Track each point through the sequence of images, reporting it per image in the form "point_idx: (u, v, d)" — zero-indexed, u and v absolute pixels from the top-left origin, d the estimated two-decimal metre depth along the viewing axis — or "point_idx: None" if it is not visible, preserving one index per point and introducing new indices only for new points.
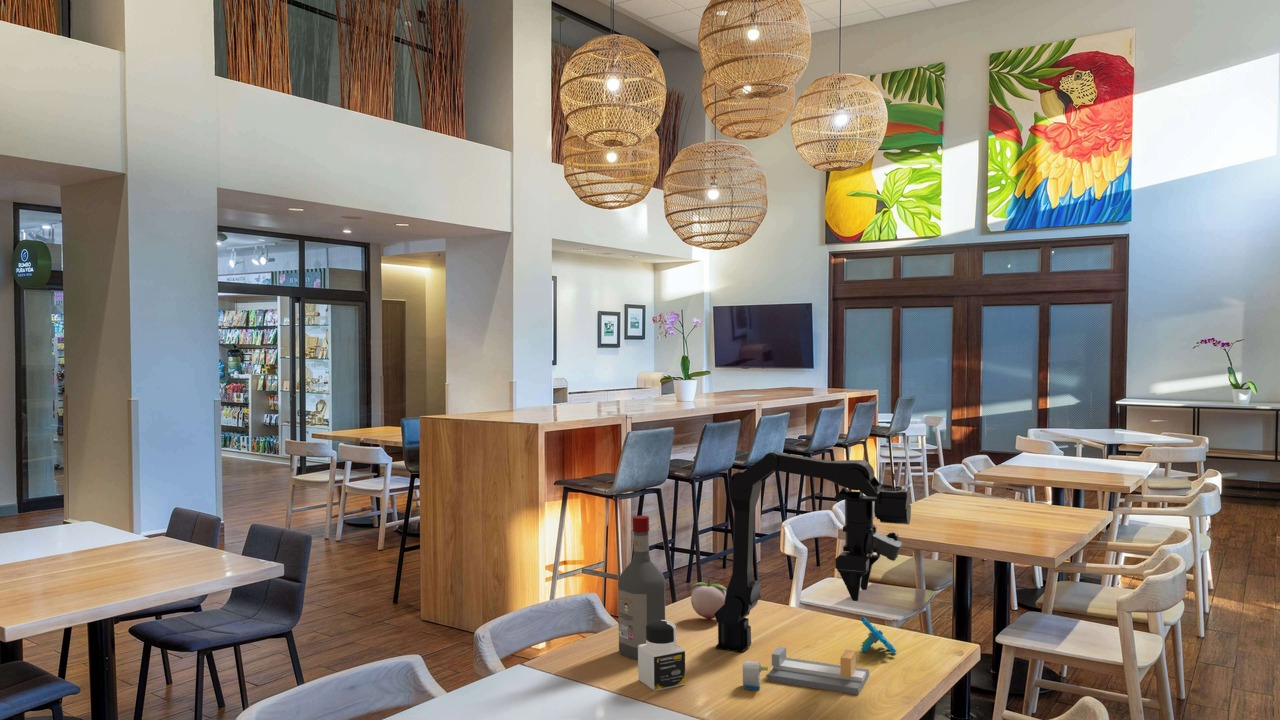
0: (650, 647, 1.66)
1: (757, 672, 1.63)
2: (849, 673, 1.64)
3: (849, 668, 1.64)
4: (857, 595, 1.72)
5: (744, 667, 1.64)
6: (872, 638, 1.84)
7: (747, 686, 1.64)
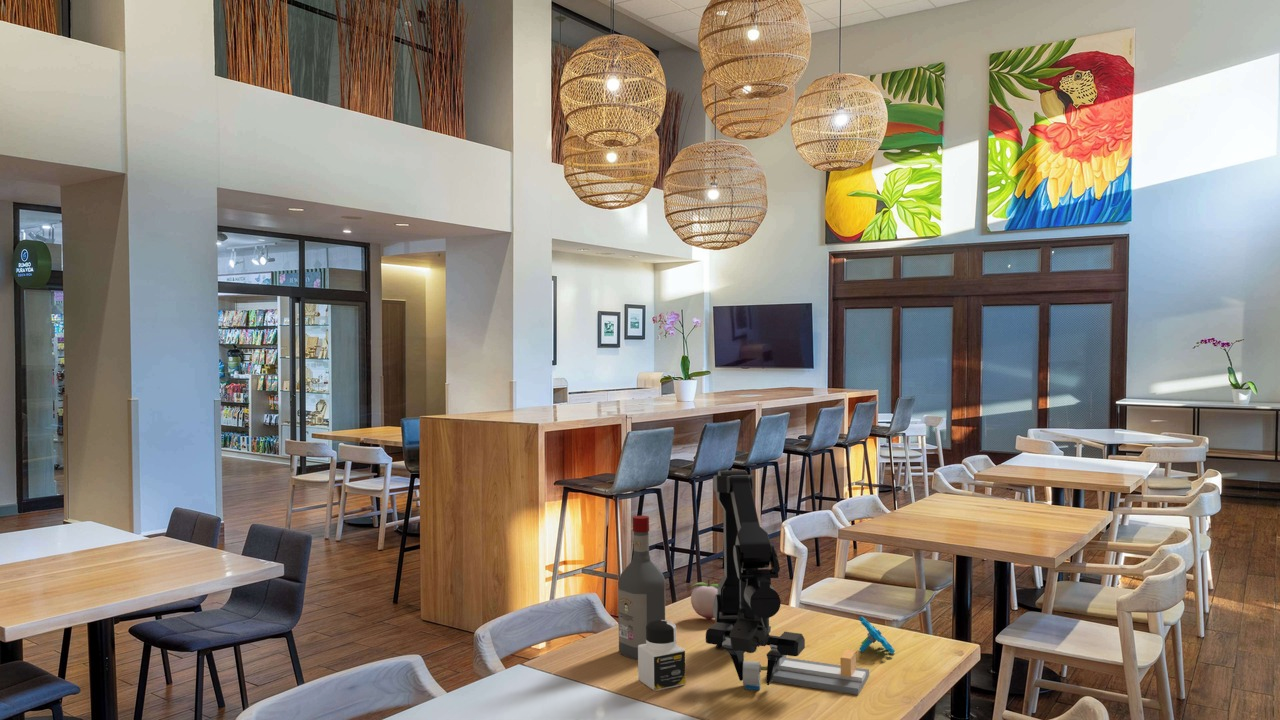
0: (650, 647, 1.66)
1: (757, 672, 1.63)
2: (849, 673, 1.64)
3: (849, 668, 1.64)
4: None
5: (744, 667, 1.64)
6: (870, 638, 1.84)
7: (747, 686, 1.64)
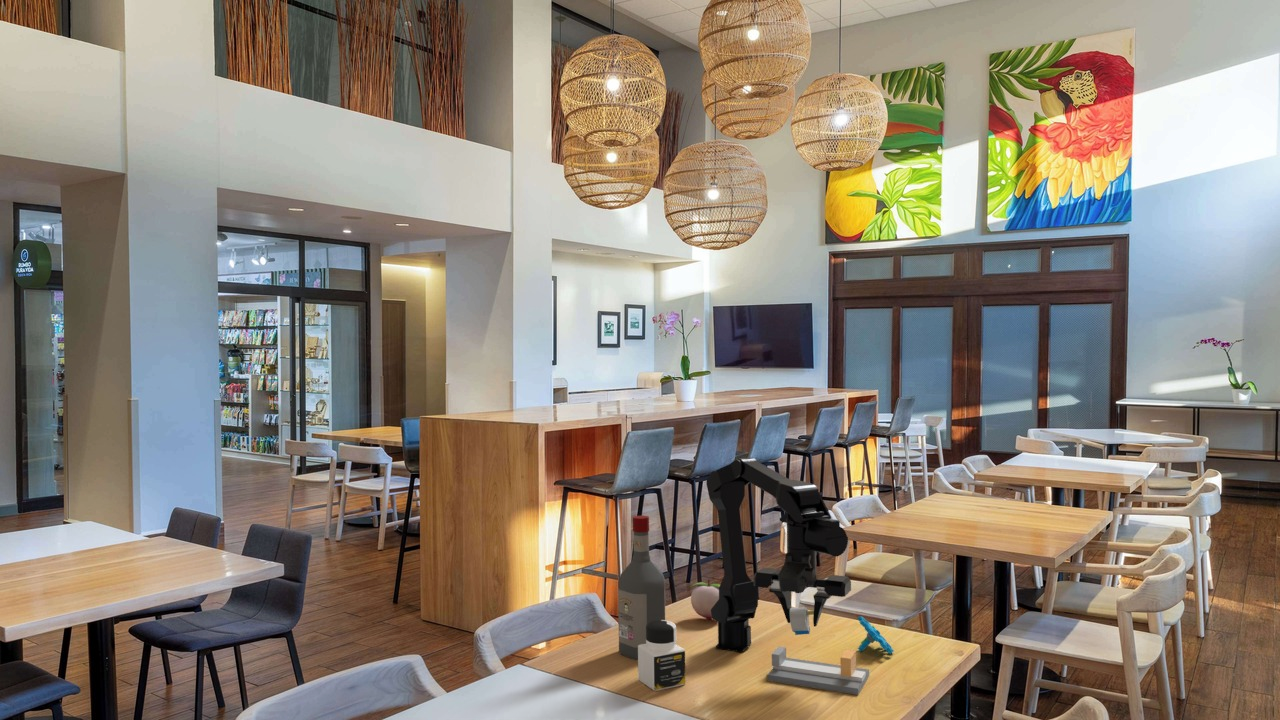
0: (650, 647, 1.66)
1: (804, 616, 1.67)
2: (849, 673, 1.64)
3: (849, 668, 1.64)
4: None
5: (791, 613, 1.68)
6: (869, 638, 1.84)
7: (796, 631, 1.68)
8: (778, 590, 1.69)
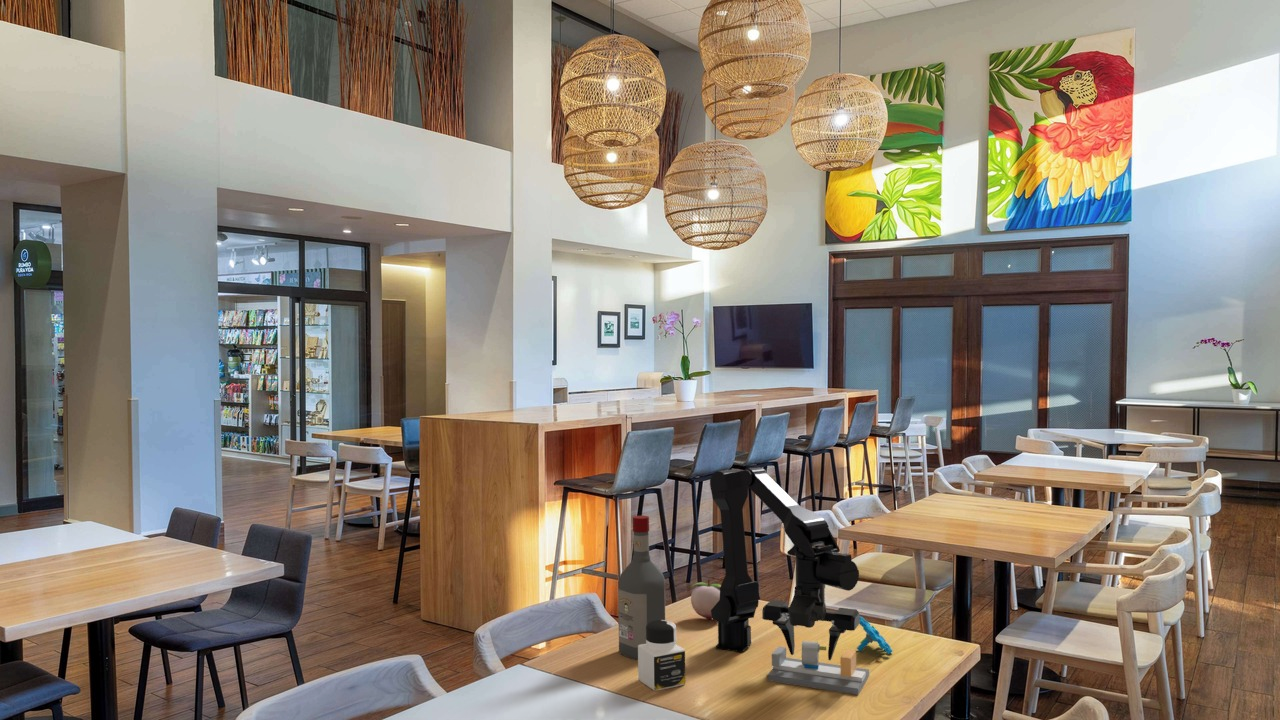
0: (650, 647, 1.66)
1: (816, 651, 1.68)
2: (849, 673, 1.64)
3: (849, 668, 1.64)
4: None
5: (803, 646, 1.69)
6: (868, 637, 1.84)
7: (806, 665, 1.69)
8: (781, 623, 1.70)
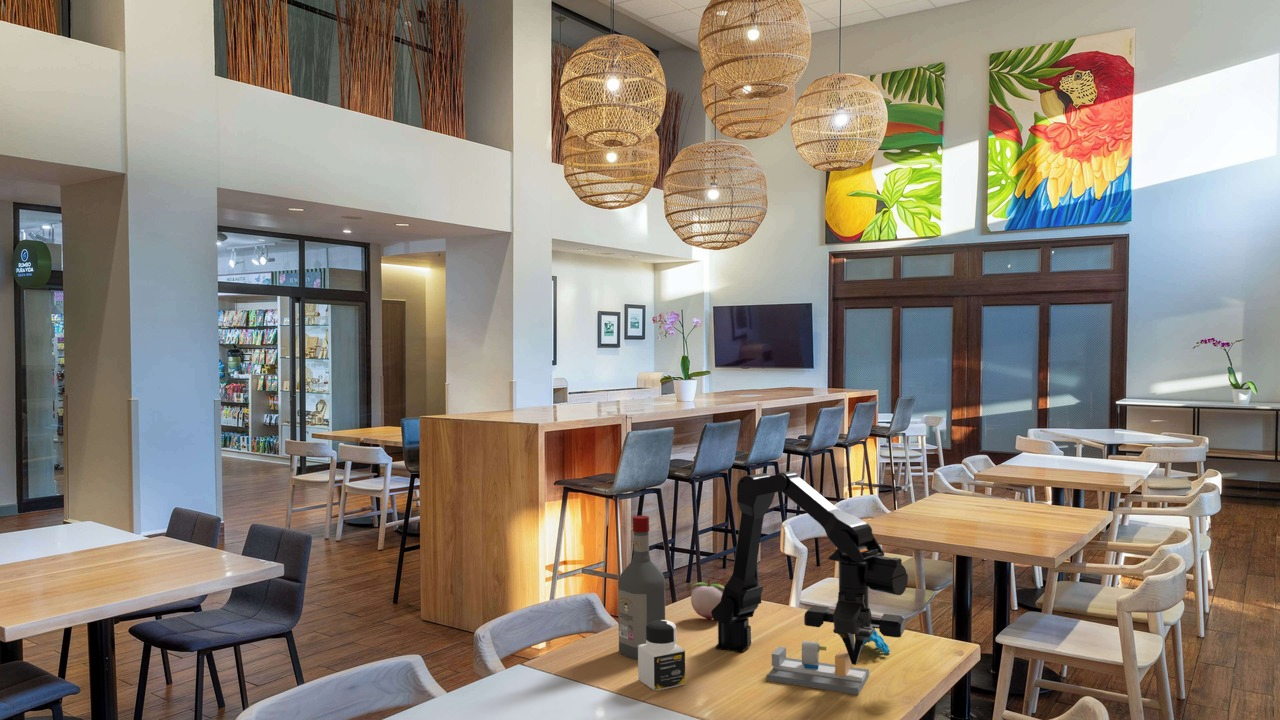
0: (650, 647, 1.66)
1: (816, 651, 1.68)
2: (843, 672, 1.65)
3: (843, 667, 1.65)
4: (850, 657, 1.66)
5: (803, 646, 1.69)
6: None
7: (806, 665, 1.69)
8: (843, 631, 1.65)
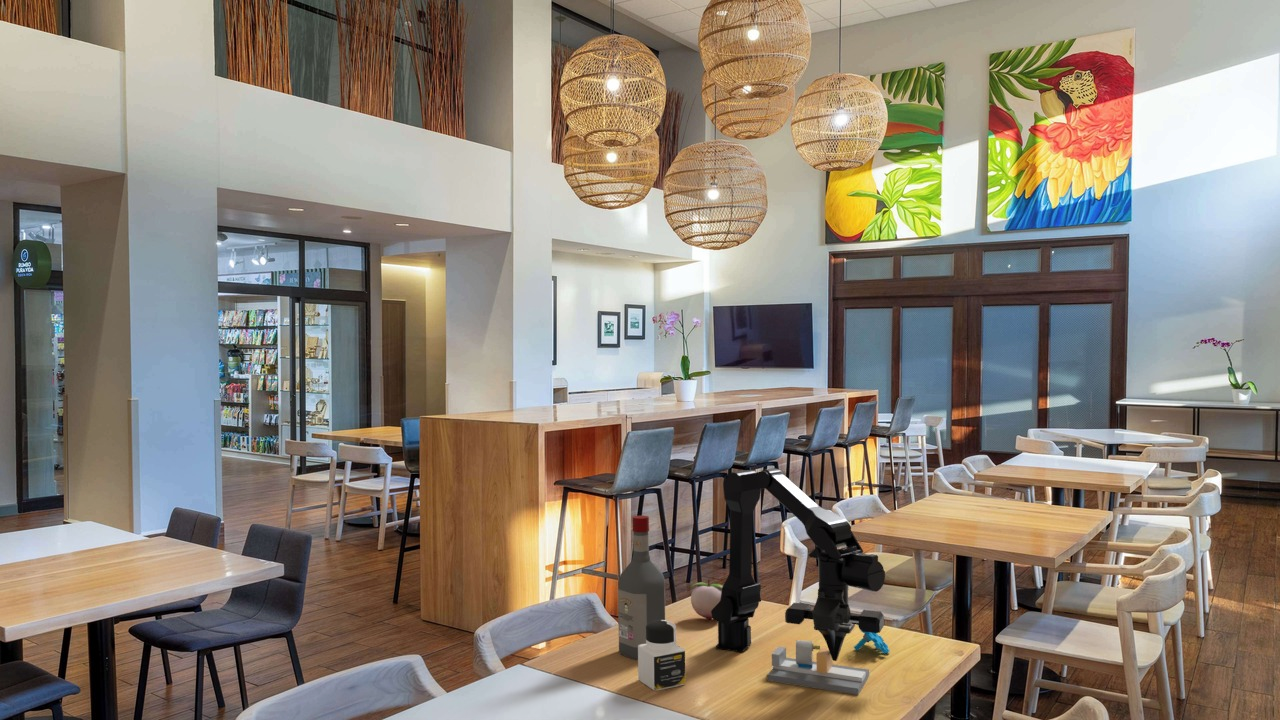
0: (650, 647, 1.66)
1: (810, 650, 1.68)
2: (825, 669, 1.66)
3: (825, 664, 1.66)
4: None
5: (797, 646, 1.69)
6: (865, 637, 1.84)
7: (800, 664, 1.69)
8: None
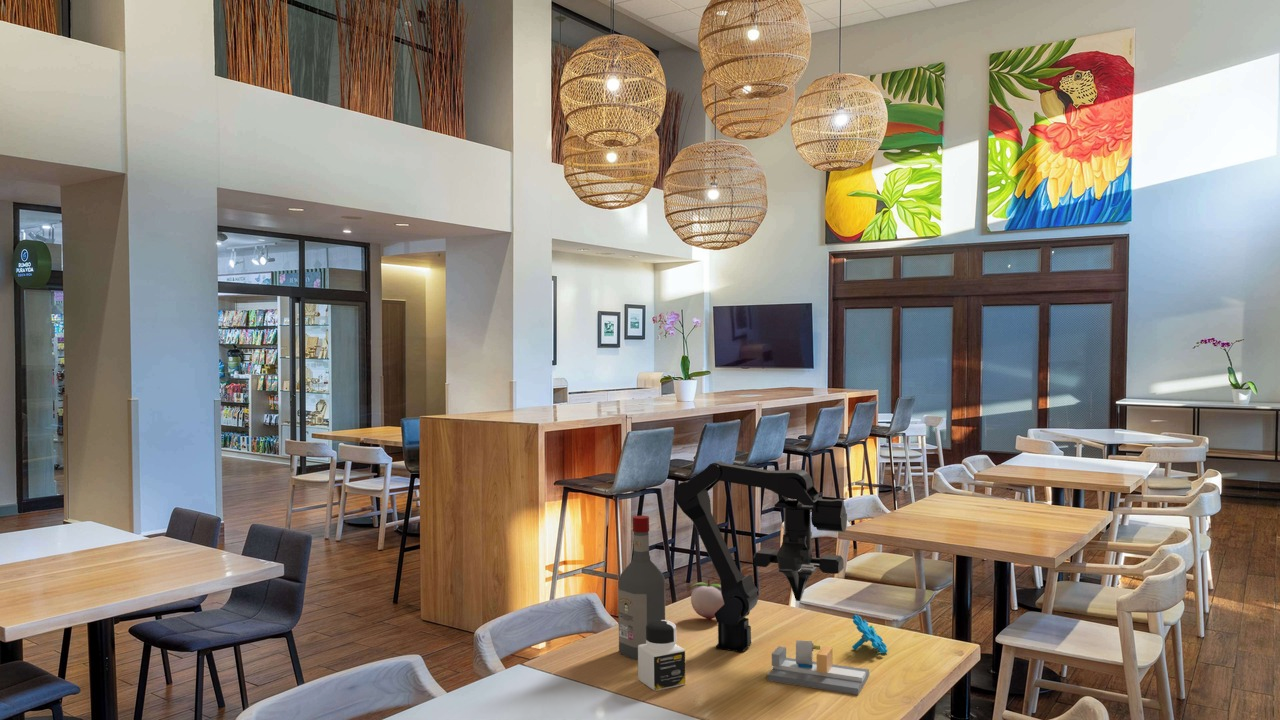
0: (650, 647, 1.66)
1: (810, 651, 1.68)
2: (825, 669, 1.66)
3: (825, 664, 1.66)
4: None
5: (797, 646, 1.69)
6: (863, 636, 1.85)
7: (800, 664, 1.69)
8: (787, 570, 1.81)
